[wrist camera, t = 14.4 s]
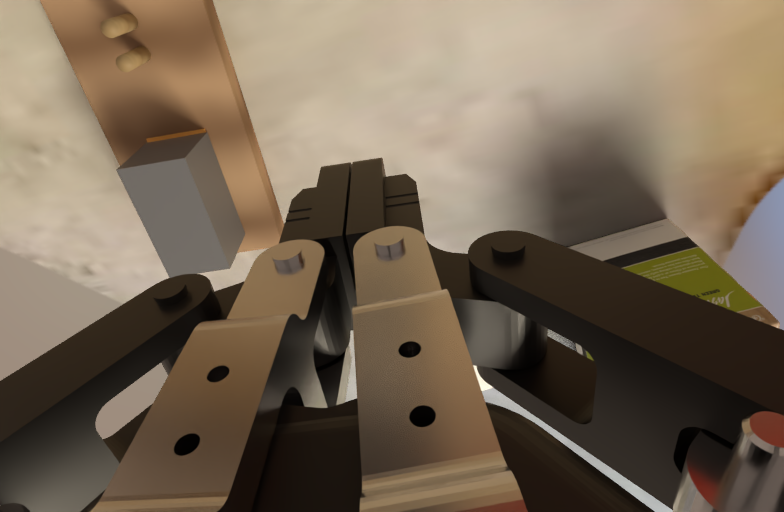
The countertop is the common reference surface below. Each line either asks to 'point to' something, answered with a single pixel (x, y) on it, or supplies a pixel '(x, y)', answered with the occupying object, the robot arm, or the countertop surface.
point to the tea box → (673, 267)
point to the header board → (169, 90)
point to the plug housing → (184, 204)
